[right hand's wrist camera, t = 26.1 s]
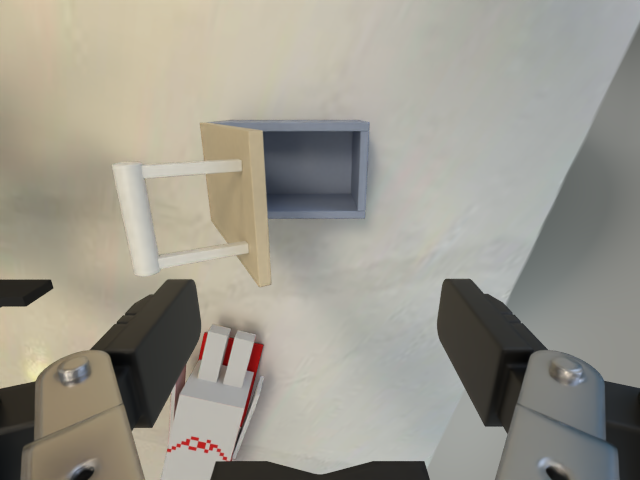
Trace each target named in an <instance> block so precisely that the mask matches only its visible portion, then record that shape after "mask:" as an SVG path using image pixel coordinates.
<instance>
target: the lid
mask: <svg viewBox="0 0 640 480" xmlns="http://www.w3.org/2000/svg"><path fill="white" fill-rule="evenodd" d="M200 129H201V138H202V146H203V155H204V161H194V162H177V163H160V164H144V165H142V163H141V162H120V163H114V164H112V170H113V175H114V180H115V184H116V189H117V194H118V199H119V203H120V208H121V213H122V218H123V222H124V227H125V232H126V237H127V241H128V246H129V251H130V256H131V260H132V265H133V270H134V274H135V275H136V276H141V277H144V276H151V275H154V274H156V273H158V272H159V271H160V270H161V269H163V268H168V267H174V266H180V265H185V264H191V263H196V262H202V261H207V260H213V259H218V258H224V257H230V256H235V255H236V256H237V257H238V258H239V260H240V261H241V263H242V264H243V265H244V267H245V268H246V269H247V271H248V272H249V274H250V275H251V276H252V278H253V279H254V281H255V282H256V283H257V285H258V286H259V287H263V286H267V285H271V266H270V249H269V231H268V213H267V196H266V178H265V161H264V143H263V131H262V130H256V129H249V128H242V127H235V126H228V125H221V124H214V123H200ZM200 174H206V180H207V189H208V197H209V206H210V214H211V221H212V222H213V224H214V225H215V226H216V228H217V229H218V231H219V232H220V233H221V235H222V236H223V238H224V239H225V240H226V242H227V243H228V244H223V245H217V246H210V247H204V248H198V249H192V250H186V251H180V252H174V253H168V254H162V255H159V254H158V248H157V243H156V237H155V232H154V226H153V221H152V215H151V209H150V204H149V198H148V193H147V187H146V182H145V179H148V178H161V177H174V176H187V175H200Z"/></svg>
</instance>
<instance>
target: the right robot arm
mask: <svg viewBox="0 0 640 480" xmlns="http://www.w3.org/2000/svg"><path fill="white" fill-rule="evenodd" d="M437 330H438V336H439V339H440V341H441V343H442V345H443V347H444V349H445V351H446V353H447V355H448V357H449V359H450V361H451V362H452V364H453V366H454V368H455V370H456V372H457V374H458V376H459V378H460V380H461V381H462V383H463V385H464V387H465V389H466V391H467V393H468V395H469V397H470V399H471V401H472V402H473V404H474V406H475V408H476V410H477V412H478V414H479V416H480V418H481V420H482V422H483V423H484V425H485V426H503V427H504V429H505V430H506V432H507V434H508V435H507V439H506V442H505V446H504V449H503V453H502V456H501V460H500V464H499V467H498V471H497V474H496V478H495V480H640V388H636V387H631V386H626V385H621V384H616V383H612V382H607V381H604V380H603V378H602V376H601V375H600V373H599V372H598V371H597V370H596V369H594V368H593V367H592V366H591V365H589V364H588V363H586V362H584V361H583V360H581V359H579V358H577V357H574V356H572V355H569V354H566V353H563V352H559V351H553V350H548V349H547V348H546V347H545V346H544V345H543V344H542V343H541V342H540V341H539V340H538V339H537V338H536V337H535V336H534V335H533V334H532V333H531V332H530V331H529V329H528V328H527V327H526V326H525V325H524V324H523V323H521V322H520V320H519V319H518V318H517V317H516V316H515V315H513V314H512V312H511V311H510V310H509V309H508V308H507V306H506V305H505V304H504V303H503V302H501V301H499V300H497V299H496V298H494V297H492V296H491V295H489V294H484V293H483V292H482V291H481V290H480V289H479V288H478V287H477V286H476V284H475V283H474V282H473V281H472V280H471V279H445V280H444V282H443V285H442V291H441V298H440V305H439V312H438V319H437ZM200 333H201V318H200V311H199V304H198V297H197V290H196V285H195V282H194V281H193V280H192V279H168V280H167V281H166V282H165V283H164V284H163V285H162V286H161V287H160V288H159V289H158V290H157V291H156V293H155V294H154V295H148V296H147V297H145V298H143V299H141V300H140V301H138V302H136V303H135V304H134V305H133V306H132V307H131V308H130V309H129V310H128V311H127V312H126V313H125V315H123V316H122V317H121V318H120V319H119V320H118V321H117V324H114V325H113V326H112V328H111V329H110V330H109V331H108V332H107V333H106V334H105V335H104V336H103V337H102V338H101V339H100V340H99V341H98V342H97V343H96V344H95V345H94V346H93V347H92V348H91V349H90V350H87V351H81V352H77V353H74V354H71V355H68V356H66V357H63V358H61V359H59V360H57V361H56V362H54V363H52V364H51V365H49V366H48V367H47V368H46V369H44V370H43V371H42V372H41V373H40V375H39V376H38V378H37V380H36V381H35V382H31V383H26V384H21V385H16V386H12V387H7V388H2V389H0V480H145V478H144V474H143V470H142V467H141V463H140V460H139V456H138V453H137V449H136V446H135V442H134V439H133V435H132V430H133V428H152V427H153V425H154V423H155V422H156V420H157V418H158V416H159V414H160V412H161V410H162V408H163V406H164V405H165V403H166V401H167V399H168V397H169V395H170V393H171V391H172V390H173V388H174V386H175V384H176V382H177V380H178V378H179V376H180V374H181V373H182V371H183V369H184V367H185V365H186V363H187V361H188V359H189V357H190V356H191V354H192V352H193V350H194V348H195V346H196V344H197V342H198V340H199V337H200ZM210 480H430V479H429V476H428V472H427V469H426V465H425V462H424V461H372V462H368V463H365V464H361V465H357V466H353V467H350V468H346V469H342V470H338V471H335V472H331V473H327V474H322V475H318V474H313V473H309V472H305V471H302V470H298V469H294V468H290V467H287V466H283V465H279V464H275V463H272V462H268V461H216V462H215V465H214V469H213V472H212V476H211V479H210Z"/></svg>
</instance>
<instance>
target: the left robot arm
mask: <svg viewBox="0 0 640 480" xmlns="http://www.w3.org/2000/svg"><path fill="white" fill-rule="evenodd" d="M52 289H53V285H52V282H51V280H0V307H2V306H27V305H29V304H30V303H32V302H33V301H35V300H37V299H38V298H40V297H41V296H43V295H44V294H46V293H47V292H49V291H50V290H52Z"/></svg>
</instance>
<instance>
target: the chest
mask: <svg viewBox="0 0 640 480" xmlns="http://www.w3.org/2000/svg"><path fill="white" fill-rule="evenodd" d="M207 123H214V124H221V125H228V126H235V127H242V128H249V129H256V130H262V131H263V143H264V161H265V178H266V196H267V213H268V219H364V218H365V207H366V185H367V164H368V142H369V122H365V121H361V120H228V121H217V122H207Z"/></svg>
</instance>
